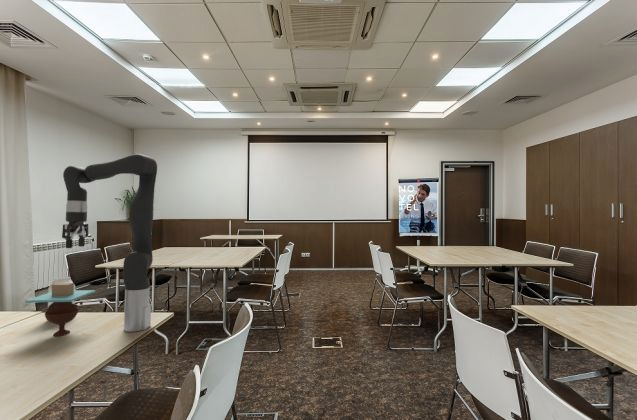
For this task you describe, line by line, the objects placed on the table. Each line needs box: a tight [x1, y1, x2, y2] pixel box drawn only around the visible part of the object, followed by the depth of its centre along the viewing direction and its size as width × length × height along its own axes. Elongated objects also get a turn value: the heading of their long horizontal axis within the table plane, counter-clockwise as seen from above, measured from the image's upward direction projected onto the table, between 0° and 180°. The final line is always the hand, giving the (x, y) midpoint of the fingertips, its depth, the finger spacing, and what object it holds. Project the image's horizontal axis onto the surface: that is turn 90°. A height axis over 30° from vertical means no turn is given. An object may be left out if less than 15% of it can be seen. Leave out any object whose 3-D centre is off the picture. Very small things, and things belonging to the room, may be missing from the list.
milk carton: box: [47, 276, 76, 308], centre depth 146 cm, size 7×7×19 cm
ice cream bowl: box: [44, 302, 80, 337], centre depth 127 cm, size 11×11×15 cm
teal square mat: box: [24, 282, 96, 304], centre depth 128 cm, size 16×16×5 cm
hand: (75, 247), depth 140 cm, fingers open, 8 cm apart
